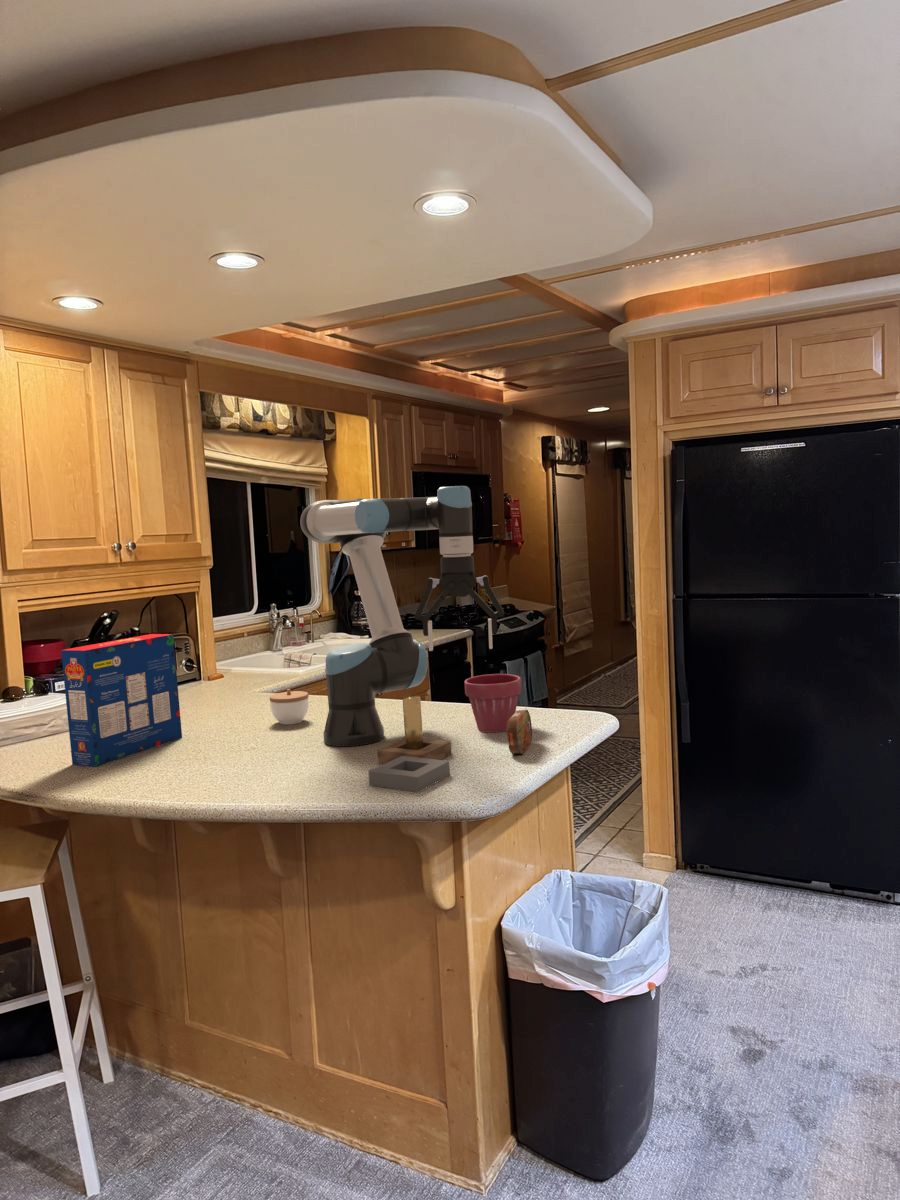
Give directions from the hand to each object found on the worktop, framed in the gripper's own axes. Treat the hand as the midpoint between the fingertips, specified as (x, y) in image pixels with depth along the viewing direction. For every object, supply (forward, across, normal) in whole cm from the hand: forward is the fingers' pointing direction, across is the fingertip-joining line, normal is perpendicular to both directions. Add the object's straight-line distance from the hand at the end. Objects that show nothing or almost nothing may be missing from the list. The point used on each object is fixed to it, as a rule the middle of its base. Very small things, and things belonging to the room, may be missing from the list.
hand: (460, 649), depth 188 cm
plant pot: (+24, +7, +21) cm, 33 cm away
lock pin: (+24, -11, -4) cm, 27 cm away
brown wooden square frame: (+24, -11, -4) cm, 27 cm away
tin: (+24, +13, 0) cm, 27 cm away
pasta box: (+26, -86, +15) cm, 91 cm away
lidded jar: (+26, -50, +39) cm, 69 cm away
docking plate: (+24, -11, -20) cm, 33 cm away
